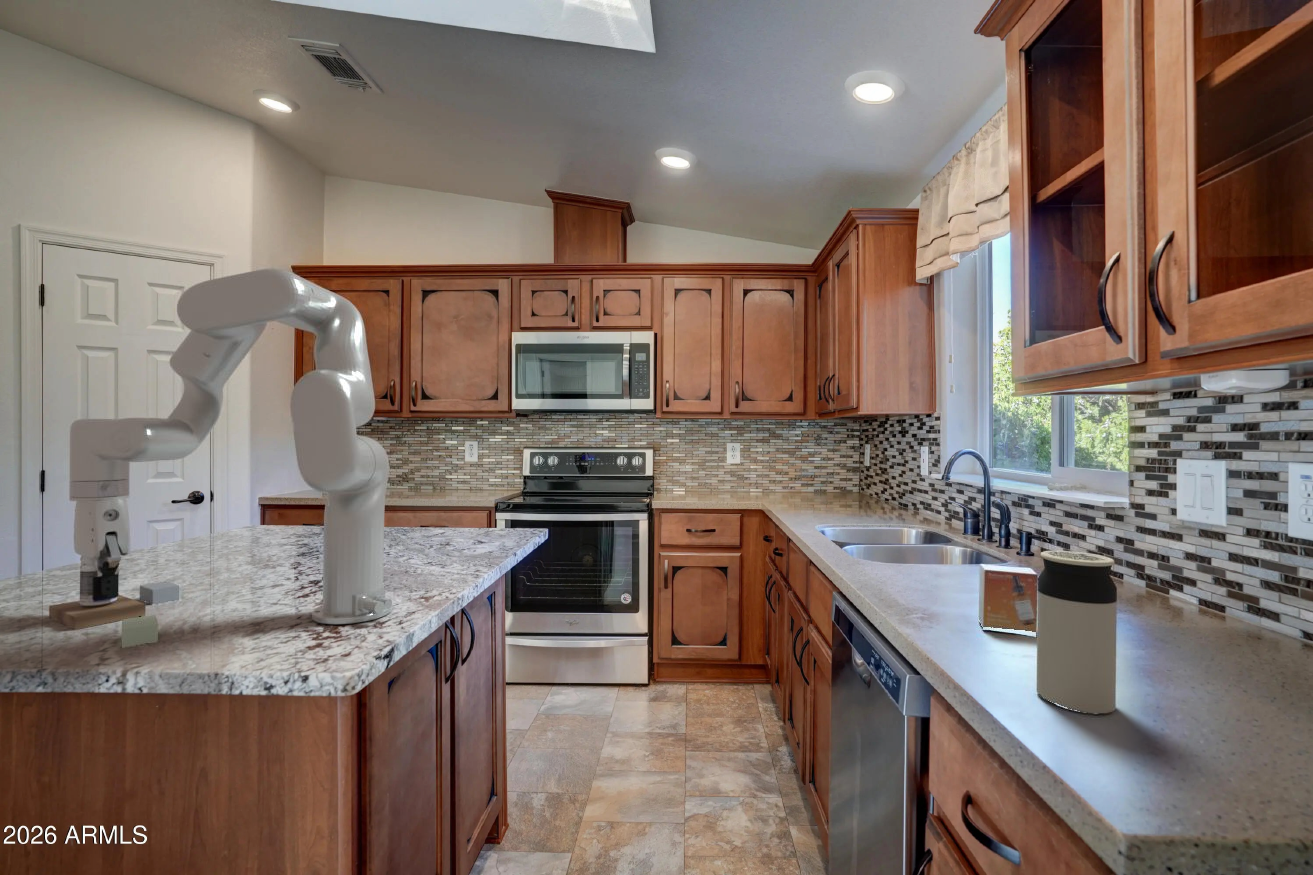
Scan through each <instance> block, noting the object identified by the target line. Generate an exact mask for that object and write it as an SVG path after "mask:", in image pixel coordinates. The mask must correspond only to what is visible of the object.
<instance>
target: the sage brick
mask: <svg viewBox="0 0 1313 875" xmlns="http://www.w3.org/2000/svg"><path fill="white" fill-rule="evenodd" d="M158 638H159V623H158V618H157V615H156V614H151V615H145V616H141V617H136V618H130V619H124V620H121V648H122V649H125V647H126V648H131V647H130V646H132V647H137V646H136V645H138V646H141V645H140V644H143V645H145V644H144V643H149V644H155V643H158V642H159V640H158Z"/></svg>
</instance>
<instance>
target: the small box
mask: <svg viewBox="0 0 1313 875" xmlns="http://www.w3.org/2000/svg"><path fill="white" fill-rule="evenodd" d="M1038 577H1039V576H1038V573H1036V572H1035V571H1034V570H1033V569H1032V568H1031V567H1021V566H1020V567H1017V566H1005V565H993V564H986V563H979V579H978V580H979V581H978V582H979V585H978V586H979V587H978V588H979V590H978V594H979V595H978V596H979V597H978V618H979V620H980V622H981V624H982V626H983V627H991V628H992V627H993V628H1002V629H1014V630H1025V631H1032V632H1037V612H1038Z"/></svg>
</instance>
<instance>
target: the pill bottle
mask: <svg viewBox="0 0 1313 875" xmlns="http://www.w3.org/2000/svg"><path fill="white" fill-rule="evenodd" d="M100 557H108V554H103V555H101V556H99V558H100ZM83 562H84V564H85V565H84V566H83V567H81V569H80V568H79V601H80V605H83V606H93V605H101V604H107V603H110V602H114V601H116V600H117V597H116V598H110V599H105V600H99V601H94V600H93V577H96V575H95V564H94V559H92V558H89V557H86V556H83ZM104 562H106V561H101V567H102V565H103V563H104Z"/></svg>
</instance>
